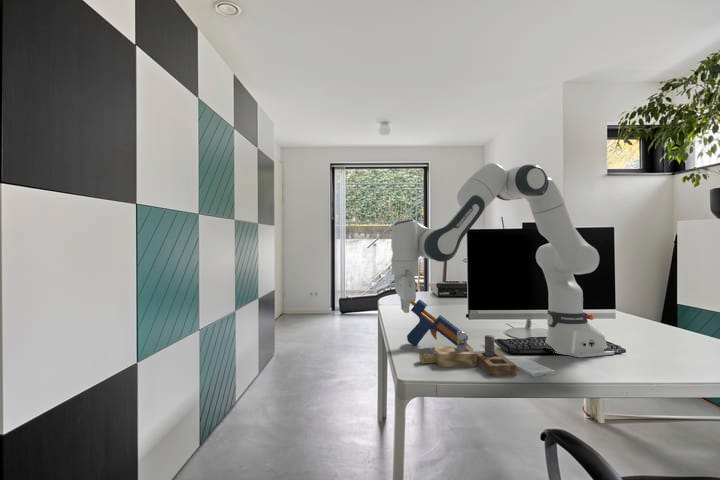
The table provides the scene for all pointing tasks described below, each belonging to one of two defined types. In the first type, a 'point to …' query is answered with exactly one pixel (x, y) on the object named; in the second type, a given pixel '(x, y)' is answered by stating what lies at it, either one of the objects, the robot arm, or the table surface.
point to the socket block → (455, 357)
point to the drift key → (428, 358)
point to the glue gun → (431, 326)
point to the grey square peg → (461, 341)
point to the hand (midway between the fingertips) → (405, 311)
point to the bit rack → (494, 360)
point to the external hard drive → (532, 367)
